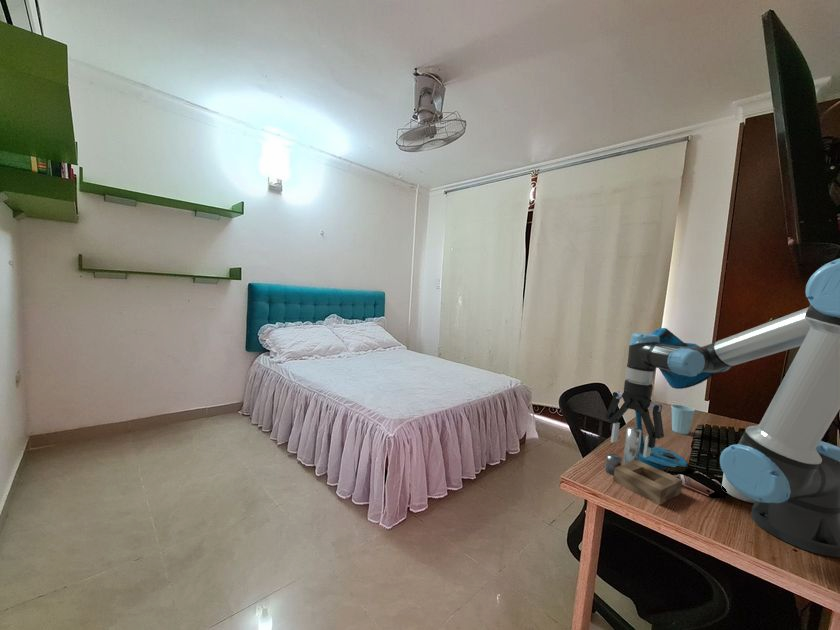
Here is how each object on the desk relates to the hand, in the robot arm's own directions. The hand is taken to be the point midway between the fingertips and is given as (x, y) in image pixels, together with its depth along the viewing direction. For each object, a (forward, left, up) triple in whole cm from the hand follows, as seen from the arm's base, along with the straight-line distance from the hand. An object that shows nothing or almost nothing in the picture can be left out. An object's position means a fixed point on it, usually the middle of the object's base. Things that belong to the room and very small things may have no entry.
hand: (629, 448), depth 106 cm
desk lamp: (-4, -15, -5) cm, 16 cm away
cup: (+6, -52, -5) cm, 52 cm away
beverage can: (-24, -13, -5) cm, 28 cm away
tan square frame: (-10, +9, -5) cm, 14 cm away
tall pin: (-1, 0, -5) cm, 5 cm away
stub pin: (-1, +10, -5) cm, 12 cm away
